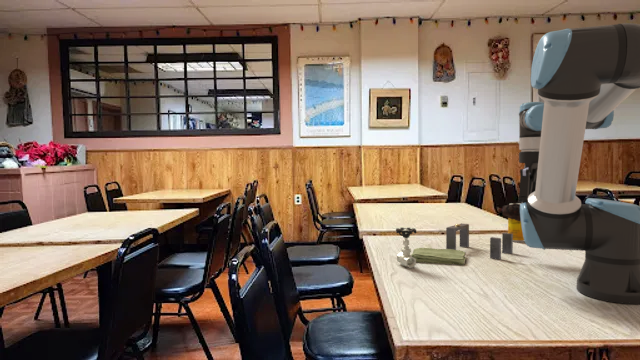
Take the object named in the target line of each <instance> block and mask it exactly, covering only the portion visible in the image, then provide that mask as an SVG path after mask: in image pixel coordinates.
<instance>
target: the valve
mask: <svg viewBox="0 0 640 360" xmlns="http://www.w3.org/2000/svg"><path fill="white" fill-rule="evenodd" d="M395 232H396V234H398V235H399V236H401V237H402V238H404V240H402V245H403V247H402V248H401V249H400V252H399V253H398V254H397V255H396V261H397V262H398V263H400V265H401V266H403V267H405V268H409V269H414V267H415V266H417V262H416V259H415V258H413V257H412V256H411V253H412V248H410V246H409V245H410V240H409V239H408V238H410V236H411V235H412V234H417V229H416V228H411V227H400V228H398V227H396V228H395Z"/></svg>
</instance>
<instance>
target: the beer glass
mask: <svg viewBox="0 0 640 360" xmlns="http://www.w3.org/2000/svg"><path fill="white" fill-rule="evenodd" d="M513 203H514V202H513ZM513 203H512V202H511V203H509V204H508V205H511V204H513ZM516 203H517V204H521V203H518V202H516ZM507 233H511V234H513V242H514V243H523V242H525V241H524V237H523V232H522V226H521V221H517V220H515V219H510V218H507Z"/></svg>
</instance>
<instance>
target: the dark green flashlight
mask: <svg viewBox="0 0 640 360" xmlns="http://www.w3.org/2000/svg"><path fill="white" fill-rule="evenodd" d="M517 203H518V202H513V204H511V205H509V204H507V205H503V206H502V217H504V218H506V219H508V218H510V219H515V220H517V221H521V218H520V204H521V203H520V204H517Z"/></svg>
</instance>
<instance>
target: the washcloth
mask: <svg viewBox="0 0 640 360" xmlns="http://www.w3.org/2000/svg"><path fill="white" fill-rule="evenodd" d="M410 255H411V256H412V257H413V258H415V259H416V263H422V264H423V263H424V264H441V265H442V264H443V265H444V264H445V265H459V266H464V265H465V260H466V259H467V258H466V256H465V255H466V252H465V251H464V250H459V249H456V250H454V249H446V248H432V247H417V248H414V249H413V251H412V253H410Z"/></svg>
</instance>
